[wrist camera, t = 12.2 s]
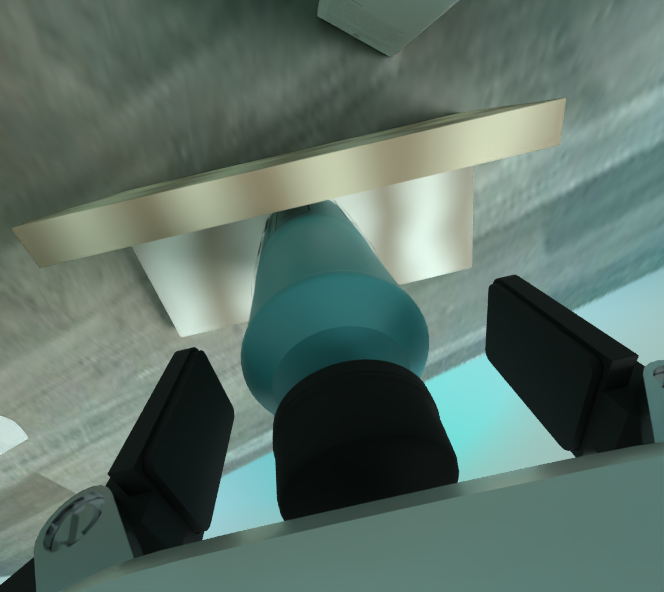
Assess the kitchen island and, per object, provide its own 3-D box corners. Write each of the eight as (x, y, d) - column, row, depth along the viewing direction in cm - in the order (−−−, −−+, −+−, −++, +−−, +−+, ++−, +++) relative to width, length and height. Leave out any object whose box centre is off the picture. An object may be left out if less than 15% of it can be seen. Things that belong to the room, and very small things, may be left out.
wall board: (460, 112, 23) (566, 97, 14) (460, 259, 29) (536, 314, 20) (119, 192, 23) (10, 227, 14) (187, 325, 28) (141, 410, 20)
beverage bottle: (258, 190, 22) (137, 416, 4) (350, 184, 22) (577, 360, 5) (270, 275, 25) (230, 609, 7) (351, 267, 26) (494, 559, 8)
